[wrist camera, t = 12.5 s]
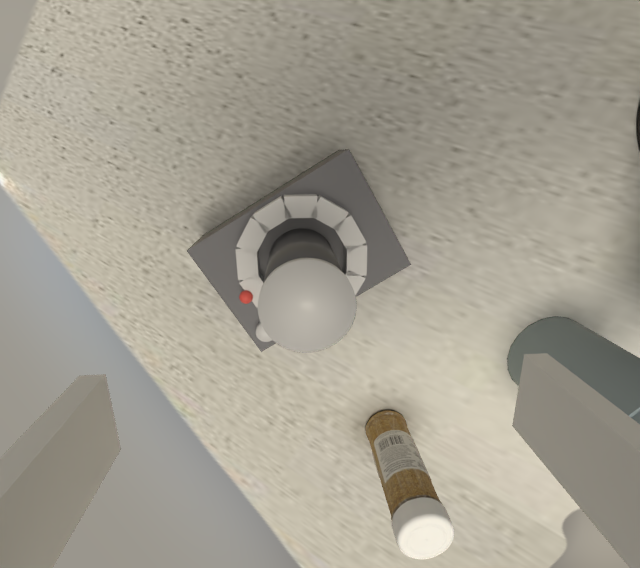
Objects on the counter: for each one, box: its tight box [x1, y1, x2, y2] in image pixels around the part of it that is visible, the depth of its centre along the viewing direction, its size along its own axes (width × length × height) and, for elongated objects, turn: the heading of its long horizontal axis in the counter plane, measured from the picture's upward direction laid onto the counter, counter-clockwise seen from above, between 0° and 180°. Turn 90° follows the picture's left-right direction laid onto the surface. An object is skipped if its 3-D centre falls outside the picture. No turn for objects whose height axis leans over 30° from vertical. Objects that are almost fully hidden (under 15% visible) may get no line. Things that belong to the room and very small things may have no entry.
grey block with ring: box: [187, 149, 411, 352], centre depth 32 cm, size 14×10×8 cm
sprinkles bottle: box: [366, 410, 454, 559], centre depth 36 cm, size 5×5×13 cm
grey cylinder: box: [258, 228, 356, 353], centre depth 25 cm, size 5×5×10 cm
